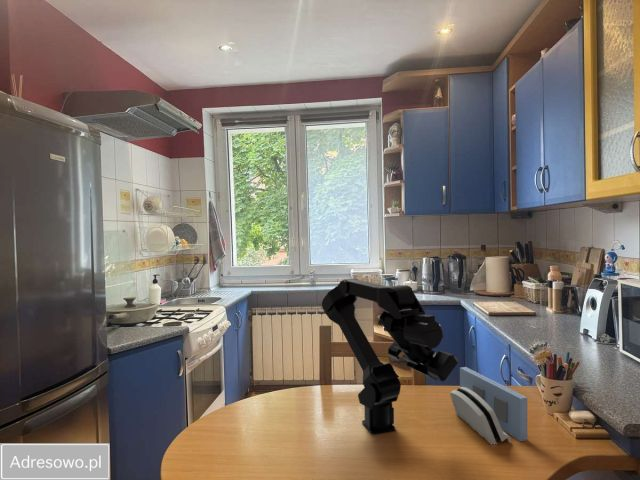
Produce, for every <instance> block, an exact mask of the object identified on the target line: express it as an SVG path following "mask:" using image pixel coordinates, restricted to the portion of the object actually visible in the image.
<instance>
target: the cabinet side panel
mask: <svg viewBox="0 0 640 480" xmlns="http://www.w3.org/2000/svg"><path fill="white" fill-rule="evenodd" d="M460 387H465V388H468V389H470V390H472V391H473V392H475V393H476V394H477V395H479V396H480V397H481V398H482V399H483V400H484V401H485V402H486V403H487V404H488V405H489V406H490V407H491V408H492V409H493V411H494V412H495V414H496V417H497V419H498V422H499V424H500V426H501V429H503V430H502V431H503V432H505V431H506V432H505V433H506V434H508V433H509V434H508V435H510V436H511V435H512V437H513V438H514V439H516V440H518V441H519V442H523V441H528V397H527V396H525V395H523V394H521V393H520V392H517V391H515V390H513V389H511V388H509V387H507V386H505V385H503V384H501V383H499V382H497V381H495V380H492V379H491V378H489V377H487V376H484V375H483V374H481V373H479V372H477V371H475V370H473V369H471V368H469V367H467V366H463V367H459V388H460Z"/></svg>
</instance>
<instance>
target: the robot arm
mask: <svg viewBox="0 0 640 480" xmlns="http://www.w3.org/2000/svg"><path fill="white" fill-rule="evenodd" d="M358 298H361V299H364V300H368V301H371V302H374V303H376V304H377V307H378V308H380V309H382V310H384V311H382V312H381V314H380V315H379V317H378V321H377V325H378V326H382V327H384V329H385V331H386V332H387V333H388V335H389V336H390V337H391V339H392V340H393V342H392V343H391V345H390V346H389V347H388V349H387V355H389V357H390V358H391V359H393V360H395V361H396V362H398V361H400V356H399V355H401V353H402V354H403V355H402V356H401V357H402V358H403V360H405V361H407V362H406V366H407V367H408V368H411V369H413V371H414V370H415V371H417V373H421V374H423V375H425V376H426V377H428V378H430V379H432V380H434V381H441V382H444V381H446V380H447V379H448V377H450V374H451V373H452V372H453V371H454V369H455V368H456V367H457V365H458V363H459V362H458V361H459V360H458V359H457V357H456V356H455V355H454V354H452V353H449V352H447V351H445V350H438V352H436V351H435V350H433V349H435V348H438V346H439V345H440V344H441V343H442V340H443V338H444V337H445V336H444V333H443V329H442V325H441V324H440V323H439V322H437V321H436V316H435V315H433V314H426V312H425V310H424V309H423V306H422V305H421V303H420V301H419V299H418V297H417V296H416V294H415V292H414V290H413V288H412V287H411V286H410V285H406V284H404V285H402V284H399V285H382V284H377V283H373V282H368V281H364V280H361V279H358V278H347V279H346V278H345V279H342V280H340V282H339V283H338V284H337V286H335V287H333V288H332V289H331V290H330V291H328V292H327V293H326V295H325V296H324V298H323V299H322V301H321V307H322V310H323V312H324V313H325V315H326V316H327V318H328V319H329V321H331V322H332V323H335V324H336V325H338V326H339V328H340V330H341V332H342V334H343V336H344V337H345V340H346V341H347V343H348V345H349V347H350V349H351V350H352V352H353V354H354V356H355V359H356V360H357V362H358V364H359V366H360V368H361V370H362V372H363V373H362V385H363V388H362V390H361V391H359V393H358V394H357V397H358V401H359V404H361V405H362V406H364V419H363V420H361V424H363V426H364V427H365V428H366V429H367V430H368V431H369V432H370V433H371V435H376V434H384V433H387V432H393V431H396V427H395V426H394V424H395V408H394V407H393V403H394V402H397V401H398V398H399V395H400V394H401V387H402V384H401V381H400V379H399V377H400V376H399V374H397V373H396V371H395V368H394V366H393V365H392V364H391V363H390V362H387V363H383V362H382V361H381V360H380V359H379V358H378V355H377V354H376V352H375V350H374V348H373V347H372V345H371V343H370V341H369V339H368V338H367V336H366V334H365V332H364V331H363V329H362V327H361V325H360V324H359V322H358V321H357V318H356V317H355V314H356V313H355V311H356V306H355V303H356V302H357V301H358Z"/></svg>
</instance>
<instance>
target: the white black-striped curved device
mask: <svg viewBox="0 0 640 480" xmlns="http://www.w3.org/2000/svg"><path fill="white" fill-rule="evenodd" d="M449 394H450V395H449V396H450V398H451V402H452V405H453V408H454V413H455V414H456V415H457V416H458V417H459V418H461V420H463V421H464V422H465V423H466V424H467V425H468V424H469V427H470V428H471V429H473V430H474V431H475V430H476V431H477V432H478V434H479V436H480V437H482V438H483V437H484V438H485V439H486V440H487V441H486V440H485V439H484V438H483V439H484V440H485V441H486V442H488V444H490V445H491V446H496V445H498V443H497V442H498V441H500V442H503V441H506V440H507V441H506V442H507V443H509V444H511V443H512V441H511V437H510V436H509V434H508V433H507V432H505V431H504V430H502V429H501V426H500V424H499V422H498V419H497V417H496V414H495V412H494V411H493V409H492V408H491V407H490V406H489V405H488V404H487V403H486V402H485V401H484V400H483V399H482V398H481V397H480V396H479V395H477V394H476V393H475V392H473V391H472V390H470V389H468V388H465V387H460V386H459V387H458V388H457V389H453V390H452V391H451V392H450V393H449ZM476 431H475V432H476ZM477 432H476V433H477ZM505 439H506V440H505ZM510 442H511V443H510ZM492 444H494V445H492ZM495 444H496V445H495Z"/></svg>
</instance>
